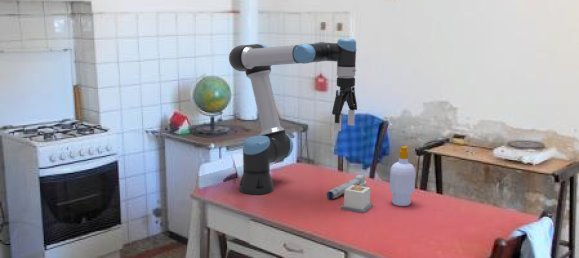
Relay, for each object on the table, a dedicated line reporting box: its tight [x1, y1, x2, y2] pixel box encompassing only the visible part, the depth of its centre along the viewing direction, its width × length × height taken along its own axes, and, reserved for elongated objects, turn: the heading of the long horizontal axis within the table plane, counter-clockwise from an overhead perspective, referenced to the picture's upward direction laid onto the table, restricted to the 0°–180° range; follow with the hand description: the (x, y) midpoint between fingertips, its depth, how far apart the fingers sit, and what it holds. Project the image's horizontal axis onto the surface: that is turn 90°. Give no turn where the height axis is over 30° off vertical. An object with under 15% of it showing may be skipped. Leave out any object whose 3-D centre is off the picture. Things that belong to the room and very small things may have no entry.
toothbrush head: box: [325, 174, 367, 200], centre depth 261 cm, size 5×7×25 cm
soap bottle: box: [389, 145, 416, 207], centre depth 245 cm, size 10×10×24 cm
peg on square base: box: [340, 185, 374, 214], centre depth 241 cm, size 10×10×9 cm
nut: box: [343, 185, 371, 210], centre depth 241 cm, size 8×8×7 cm
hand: (344, 127), depth 247 cm, fingers open, 13 cm apart
